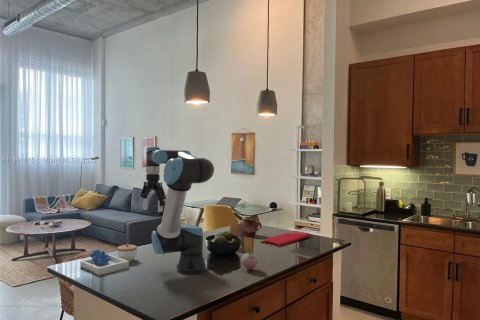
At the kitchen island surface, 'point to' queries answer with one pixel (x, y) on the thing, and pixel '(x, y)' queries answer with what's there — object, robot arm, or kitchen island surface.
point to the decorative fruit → (249, 260)
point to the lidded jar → (127, 252)
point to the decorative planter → (249, 226)
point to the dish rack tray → (104, 265)
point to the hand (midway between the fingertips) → (152, 210)
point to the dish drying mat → (286, 238)
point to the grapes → (99, 256)
